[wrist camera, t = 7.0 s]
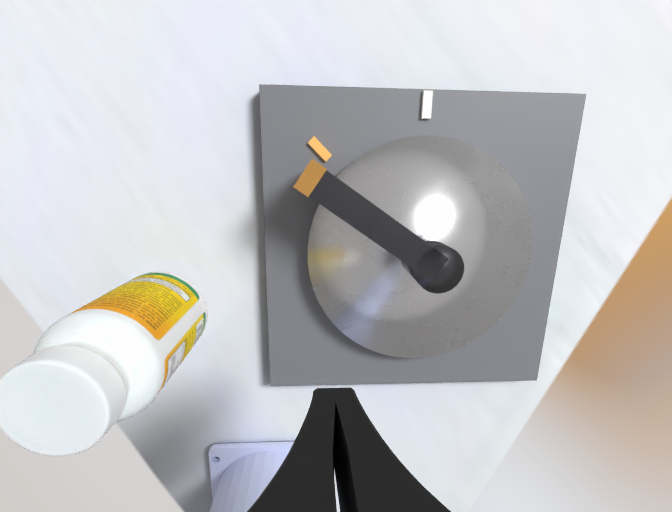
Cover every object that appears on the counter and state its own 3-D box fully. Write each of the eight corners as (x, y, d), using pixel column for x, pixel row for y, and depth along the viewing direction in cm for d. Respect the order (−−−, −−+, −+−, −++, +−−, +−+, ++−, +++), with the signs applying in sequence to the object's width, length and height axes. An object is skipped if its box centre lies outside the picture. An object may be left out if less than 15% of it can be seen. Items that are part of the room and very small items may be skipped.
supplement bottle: (220, 337, 22) (150, 456, 13) (140, 355, 22) (11, 488, 13) (194, 259, 21) (94, 329, 11) (109, 279, 21) (-61, 364, 11)
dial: (565, 224, 20) (624, 236, 16) (432, 383, 22) (456, 428, 19) (374, 69, 18) (390, 39, 14) (243, 266, 20) (225, 288, 16)
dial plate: (527, 372, 24) (538, 382, 23) (272, 377, 23) (269, 388, 22) (573, 97, 20) (589, 93, 19) (262, 89, 19) (258, 83, 18)
